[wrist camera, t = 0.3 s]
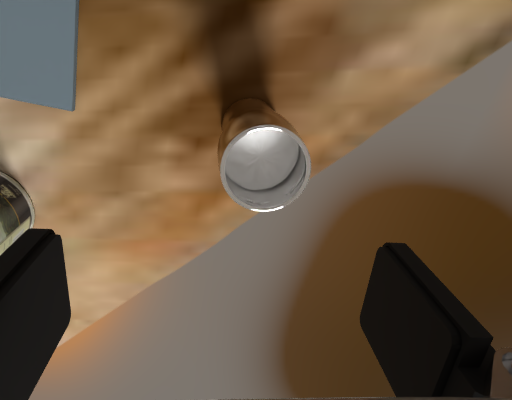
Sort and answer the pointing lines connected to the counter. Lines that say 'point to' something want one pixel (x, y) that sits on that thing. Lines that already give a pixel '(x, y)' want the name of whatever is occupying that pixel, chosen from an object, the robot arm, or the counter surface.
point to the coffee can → (13, 211)
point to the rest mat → (39, 51)
